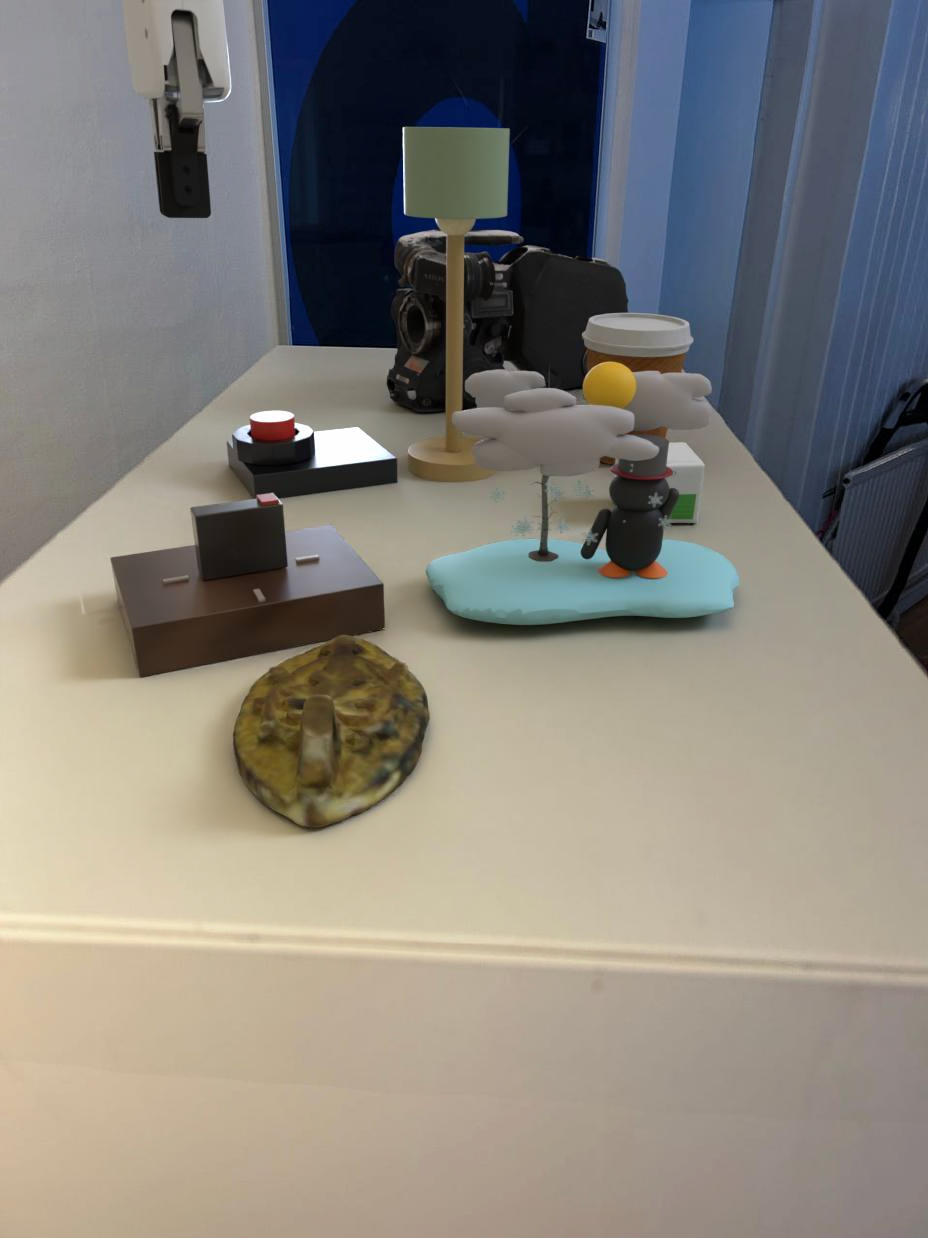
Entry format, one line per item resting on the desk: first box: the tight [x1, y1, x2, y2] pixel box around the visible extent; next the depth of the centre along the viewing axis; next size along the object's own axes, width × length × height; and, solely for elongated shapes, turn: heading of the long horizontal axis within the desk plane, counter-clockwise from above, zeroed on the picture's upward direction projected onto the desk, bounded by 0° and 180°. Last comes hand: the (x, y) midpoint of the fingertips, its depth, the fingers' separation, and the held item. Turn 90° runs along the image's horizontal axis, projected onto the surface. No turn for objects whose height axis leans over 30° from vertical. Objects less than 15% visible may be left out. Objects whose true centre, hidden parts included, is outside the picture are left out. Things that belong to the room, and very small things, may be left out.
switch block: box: [226, 422, 398, 500], centre depth 79 cm, size 12×10×4 cm
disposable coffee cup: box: [582, 312, 694, 466], centre depth 83 cm, size 10×10×12 cm
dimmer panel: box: [109, 524, 386, 678], centre depth 56 cm, size 14×10×3 cm
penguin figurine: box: [424, 362, 741, 626], centre depth 56 cm, size 20×11×15 cm, turn 93°
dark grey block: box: [189, 493, 288, 581], centre depth 54 cm, size 5×2×4 cm, turn 114°
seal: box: [232, 635, 431, 828], centre depth 45 cm, size 9×5×15 cm
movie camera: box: [386, 229, 629, 413], centre depth 101 cm, size 31×18×18 cm, turn 120°
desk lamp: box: [402, 126, 511, 483], centre depth 76 cm, size 8×8×26 cm
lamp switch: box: [249, 410, 296, 440], centre depth 77 cm, size 4×4×2 cm
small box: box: [613, 441, 706, 524], centre depth 72 cm, size 6×6×5 cm
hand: (185, 216), depth 65 cm, fingers closed
